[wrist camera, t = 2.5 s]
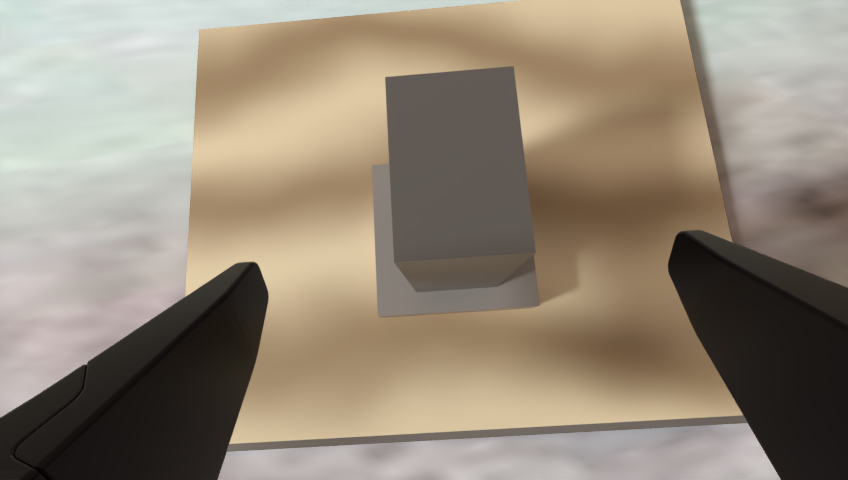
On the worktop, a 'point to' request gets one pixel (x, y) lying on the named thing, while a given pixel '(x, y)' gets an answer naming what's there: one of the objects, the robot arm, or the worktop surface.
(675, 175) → the birch board
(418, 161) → the grey stepped block
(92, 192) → the worktop surface
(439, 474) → the worktop surface
